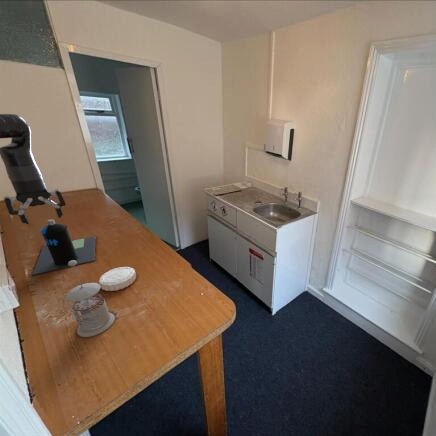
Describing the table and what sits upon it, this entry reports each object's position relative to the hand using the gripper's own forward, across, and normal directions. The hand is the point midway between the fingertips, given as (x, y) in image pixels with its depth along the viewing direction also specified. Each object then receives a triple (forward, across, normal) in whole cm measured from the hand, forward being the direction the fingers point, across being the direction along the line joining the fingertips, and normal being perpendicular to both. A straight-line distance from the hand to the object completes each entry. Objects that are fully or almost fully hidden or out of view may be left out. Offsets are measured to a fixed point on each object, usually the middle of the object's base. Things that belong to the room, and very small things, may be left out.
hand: (44, 220), depth 86 cm
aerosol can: (+25, -2, -12) cm, 28 cm away
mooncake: (+26, -13, +19) cm, 34 cm away
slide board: (+25, -3, -19) cm, 32 cm away
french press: (+26, -1, +37) cm, 45 cm away
